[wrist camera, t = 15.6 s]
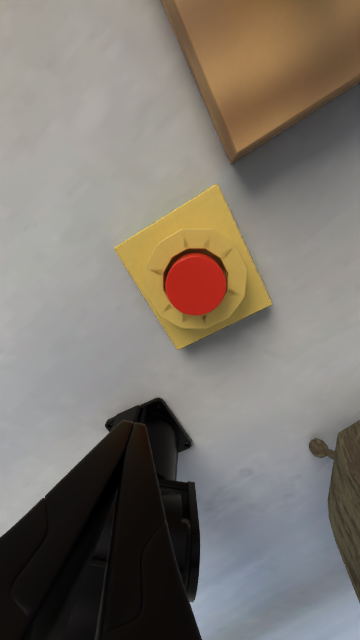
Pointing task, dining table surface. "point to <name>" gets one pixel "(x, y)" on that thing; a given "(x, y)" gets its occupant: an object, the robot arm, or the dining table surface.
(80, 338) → the dining table surface
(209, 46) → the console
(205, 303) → the button
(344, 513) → the tabletop clock
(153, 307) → the button box
